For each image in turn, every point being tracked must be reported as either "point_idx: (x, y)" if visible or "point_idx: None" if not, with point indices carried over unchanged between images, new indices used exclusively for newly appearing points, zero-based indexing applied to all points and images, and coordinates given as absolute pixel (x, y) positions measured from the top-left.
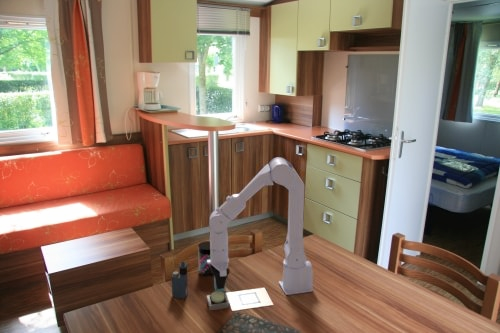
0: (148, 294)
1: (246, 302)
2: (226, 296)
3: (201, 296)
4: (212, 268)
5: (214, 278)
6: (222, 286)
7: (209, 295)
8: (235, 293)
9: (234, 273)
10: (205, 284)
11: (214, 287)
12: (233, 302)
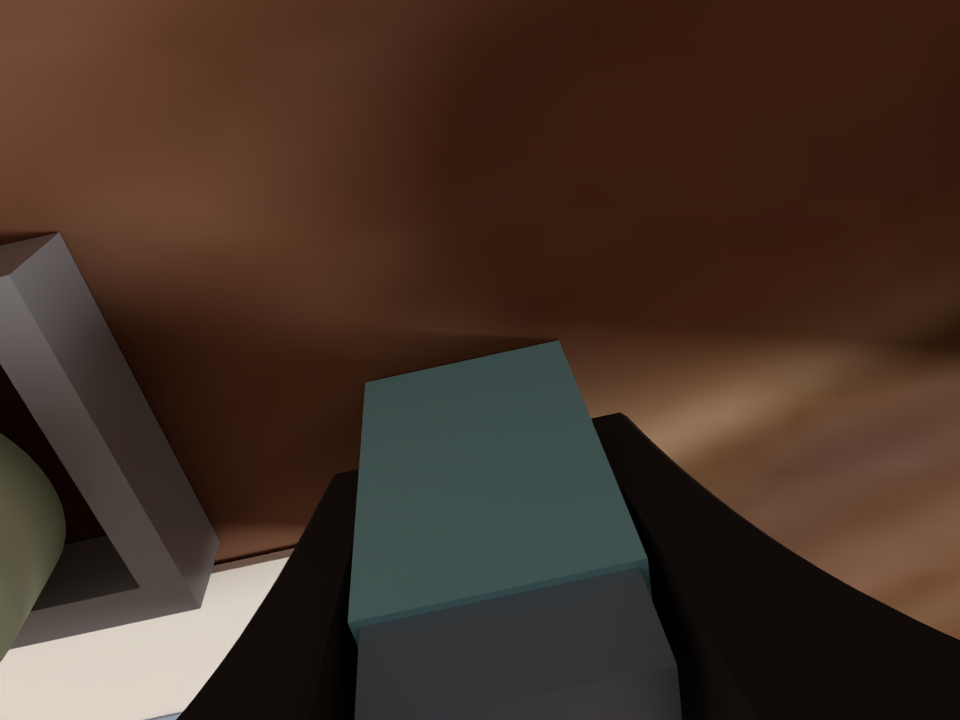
0: None
1: None
2: (67, 631)
3: (170, 90)
4: (741, 714)
5: (535, 513)
6: None
7: (15, 337)
8: None
9: (933, 599)
10: (699, 149)
11: (525, 355)
12: (50, 659)
